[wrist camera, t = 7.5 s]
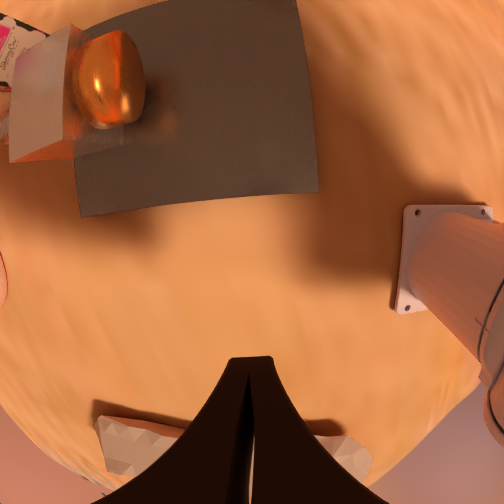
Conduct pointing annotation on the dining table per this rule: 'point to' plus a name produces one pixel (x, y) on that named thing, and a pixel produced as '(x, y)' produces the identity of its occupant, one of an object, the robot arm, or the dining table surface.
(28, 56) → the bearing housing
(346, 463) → the food container
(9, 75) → the candy bar box
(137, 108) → the shaft
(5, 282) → the fruit juice
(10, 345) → the dining table surface
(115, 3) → the dining table surface
